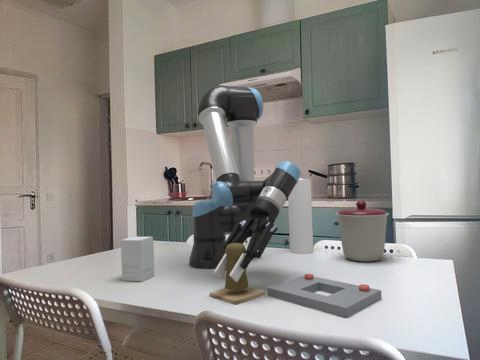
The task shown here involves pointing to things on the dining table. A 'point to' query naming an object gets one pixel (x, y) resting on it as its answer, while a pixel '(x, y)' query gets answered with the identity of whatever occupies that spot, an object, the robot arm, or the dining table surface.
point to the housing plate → (339, 303)
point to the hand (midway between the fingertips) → (225, 276)
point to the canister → (362, 232)
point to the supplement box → (137, 258)
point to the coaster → (237, 295)
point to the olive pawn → (233, 256)
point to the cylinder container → (300, 218)
